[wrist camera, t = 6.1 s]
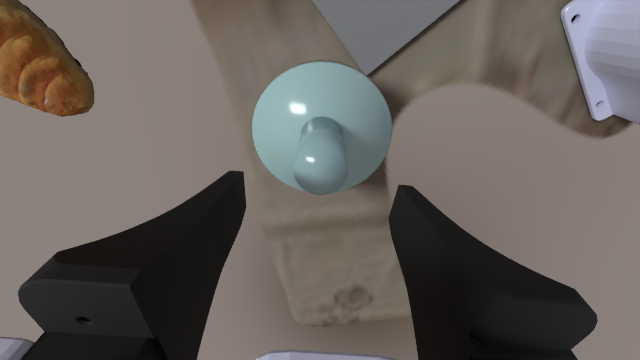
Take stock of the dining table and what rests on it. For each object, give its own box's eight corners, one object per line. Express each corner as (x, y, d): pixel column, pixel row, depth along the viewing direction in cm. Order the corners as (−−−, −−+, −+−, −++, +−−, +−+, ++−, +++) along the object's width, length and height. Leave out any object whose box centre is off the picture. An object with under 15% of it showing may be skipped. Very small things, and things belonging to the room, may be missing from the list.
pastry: (119, 71, 20) (79, 84, 17) (84, 129, 22) (44, 150, 19) (-34, -50, 16) (-122, -62, 13) (-54, 37, 19) (-131, 44, 16)
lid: (414, 142, 18) (441, 185, 14) (313, 205, 22) (310, 256, 17) (334, 24, 15) (339, 32, 10) (226, 122, 18) (194, 160, 14)
